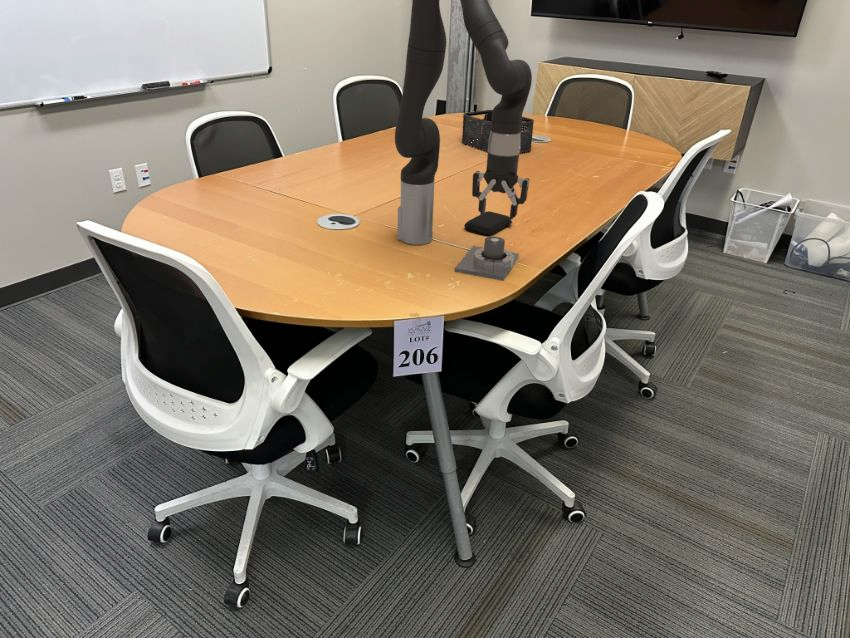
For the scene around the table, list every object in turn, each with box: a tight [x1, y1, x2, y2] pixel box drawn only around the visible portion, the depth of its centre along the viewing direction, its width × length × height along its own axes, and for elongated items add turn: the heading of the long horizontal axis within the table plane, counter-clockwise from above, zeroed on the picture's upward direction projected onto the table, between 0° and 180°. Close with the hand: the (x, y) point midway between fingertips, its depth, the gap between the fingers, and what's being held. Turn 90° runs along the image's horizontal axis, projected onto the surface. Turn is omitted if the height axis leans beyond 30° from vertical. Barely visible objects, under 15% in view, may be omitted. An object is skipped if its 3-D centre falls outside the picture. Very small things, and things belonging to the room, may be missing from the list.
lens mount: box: [454, 245, 520, 282], centre depth 161 cm, size 13×16×3 cm
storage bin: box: [461, 109, 535, 154], centre depth 267 cm, size 29×19×13 cm
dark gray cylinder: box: [483, 236, 506, 260], centre depth 159 cm, size 5×5×6 cm
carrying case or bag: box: [463, 210, 513, 237], centre depth 184 cm, size 11×3×15 cm
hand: (497, 215), depth 154 cm, fingers open, 7 cm apart
